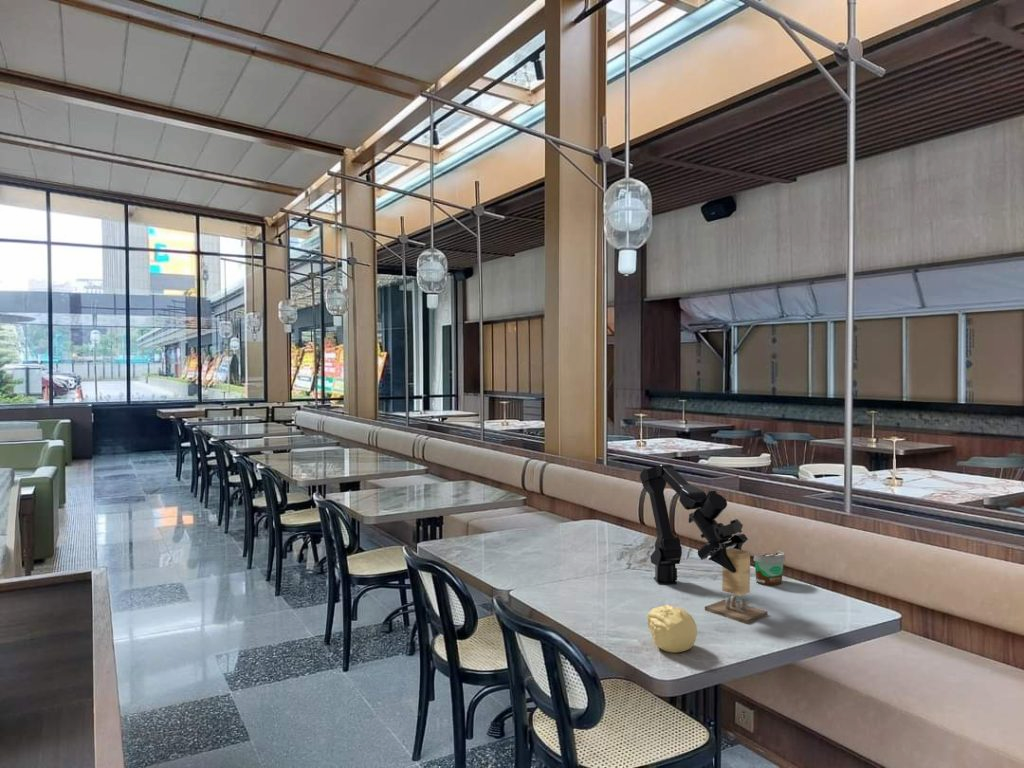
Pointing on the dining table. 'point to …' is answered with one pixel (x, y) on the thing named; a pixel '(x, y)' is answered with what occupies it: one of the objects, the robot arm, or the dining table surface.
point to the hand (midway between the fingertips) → (740, 570)
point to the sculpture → (672, 628)
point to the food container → (769, 568)
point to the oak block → (737, 573)
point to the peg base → (736, 610)
